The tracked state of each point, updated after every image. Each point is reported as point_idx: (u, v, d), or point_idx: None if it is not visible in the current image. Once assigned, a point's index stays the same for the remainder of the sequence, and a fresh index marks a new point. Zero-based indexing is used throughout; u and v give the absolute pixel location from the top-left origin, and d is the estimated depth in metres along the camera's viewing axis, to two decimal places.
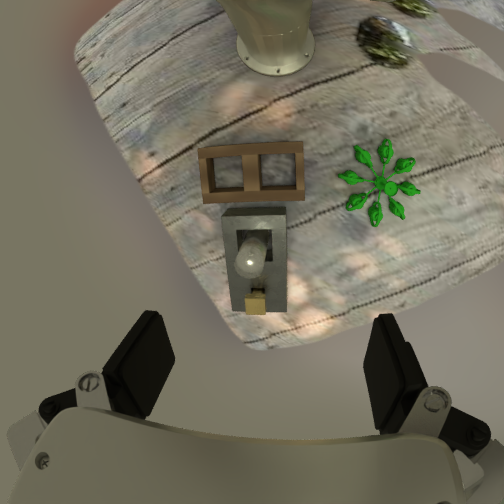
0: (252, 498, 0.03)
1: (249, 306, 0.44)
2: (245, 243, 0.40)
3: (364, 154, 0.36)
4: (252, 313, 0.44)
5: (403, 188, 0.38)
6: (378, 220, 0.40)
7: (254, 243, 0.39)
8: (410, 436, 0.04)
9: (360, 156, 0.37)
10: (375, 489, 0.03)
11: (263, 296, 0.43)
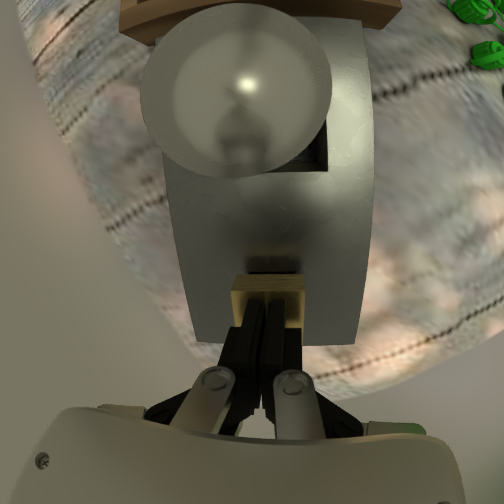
0: (252, 498, 0.03)
1: None
2: None
3: None
4: None
5: None
6: None
7: None
8: (410, 436, 0.04)
9: None
10: (375, 489, 0.03)
11: (298, 283, 0.12)
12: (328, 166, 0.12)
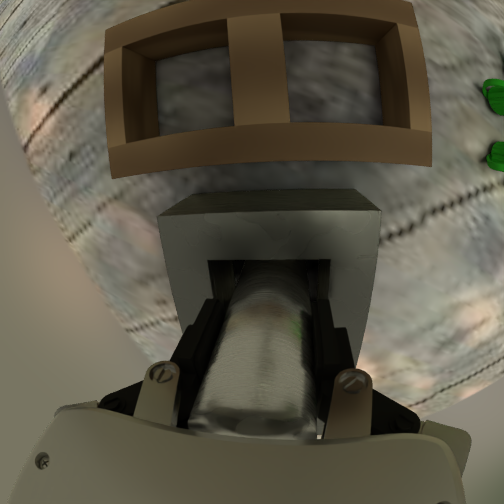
0: (252, 498, 0.03)
1: None
2: (236, 324, 0.10)
3: None
4: None
5: None
6: None
7: (274, 328, 0.09)
8: (410, 436, 0.04)
9: None
10: (375, 489, 0.03)
11: None
12: None
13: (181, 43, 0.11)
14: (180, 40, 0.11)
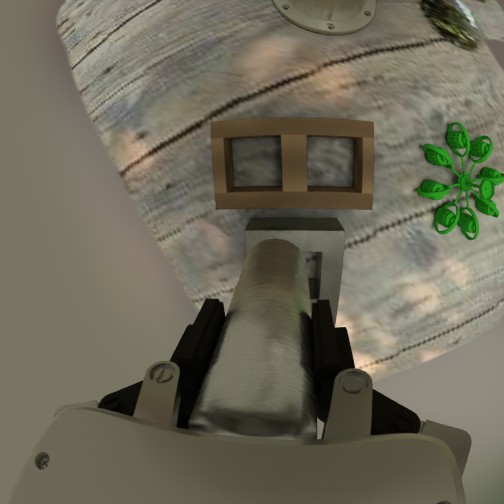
0: (252, 498, 0.03)
1: None
2: (236, 325, 0.10)
3: (466, 135, 0.21)
4: None
5: (486, 201, 0.23)
6: (453, 225, 0.25)
7: (275, 330, 0.09)
8: (410, 436, 0.04)
9: (459, 135, 0.22)
10: (375, 489, 0.03)
11: None
12: (319, 297, 0.29)
13: None
14: (252, 136, 0.26)
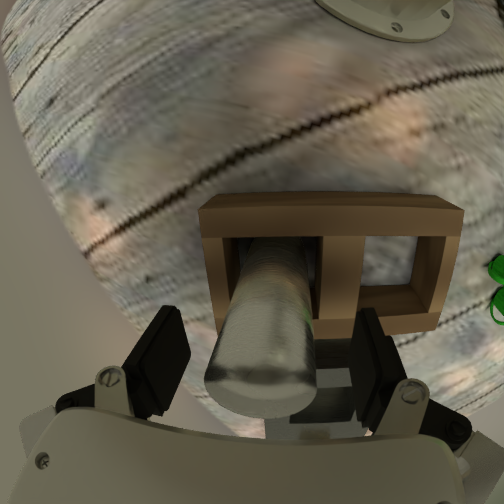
0: (252, 498, 0.03)
1: None
2: (245, 294, 0.11)
3: None
4: None
5: None
6: None
7: (279, 296, 0.11)
8: (410, 436, 0.04)
9: None
10: (375, 489, 0.03)
11: None
12: (351, 419, 0.20)
13: None
14: None
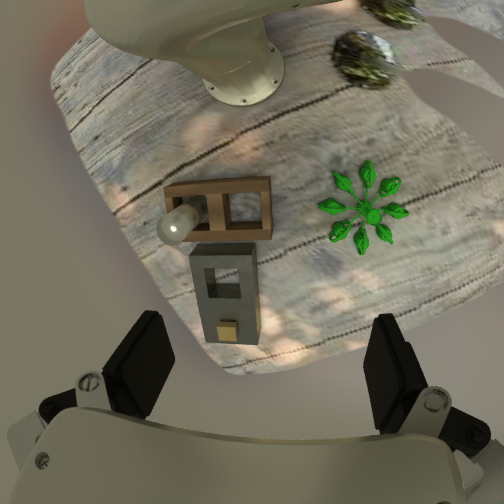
0: (252, 498, 0.03)
1: (221, 333, 0.46)
2: (172, 210, 0.36)
3: (372, 172, 0.35)
4: (224, 339, 0.46)
5: (381, 228, 0.38)
6: (340, 237, 0.39)
7: (181, 209, 0.35)
8: (410, 436, 0.04)
9: (366, 171, 0.35)
10: (375, 489, 0.03)
11: (234, 324, 0.45)
12: (241, 297, 0.44)
13: None
14: None
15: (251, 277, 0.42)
